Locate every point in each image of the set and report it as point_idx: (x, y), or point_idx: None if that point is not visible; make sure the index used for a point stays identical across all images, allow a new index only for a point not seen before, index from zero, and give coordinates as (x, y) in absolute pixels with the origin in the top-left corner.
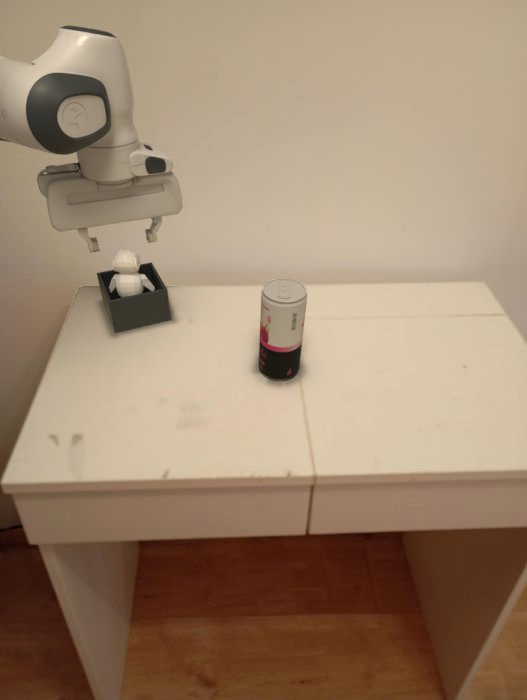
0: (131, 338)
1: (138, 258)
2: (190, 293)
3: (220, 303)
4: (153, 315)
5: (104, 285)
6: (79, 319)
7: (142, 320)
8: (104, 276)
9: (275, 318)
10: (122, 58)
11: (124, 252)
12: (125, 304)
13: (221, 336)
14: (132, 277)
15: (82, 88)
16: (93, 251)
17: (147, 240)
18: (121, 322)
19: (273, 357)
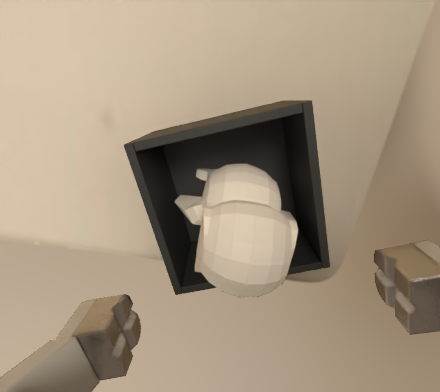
0: (247, 72)
1: (197, 253)
2: (111, 226)
3: (39, 177)
4: (188, 124)
5: (314, 199)
6: (357, 170)
7: (217, 117)
8: (307, 257)
9: None
10: None
11: (248, 259)
12: (257, 111)
13: (27, 37)
14: (228, 196)
15: None
16: (411, 244)
17: (135, 314)
18: (269, 105)
19: None
